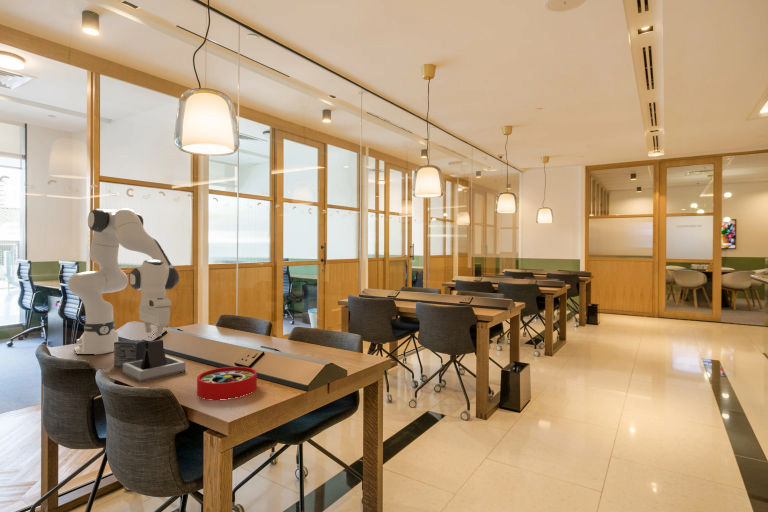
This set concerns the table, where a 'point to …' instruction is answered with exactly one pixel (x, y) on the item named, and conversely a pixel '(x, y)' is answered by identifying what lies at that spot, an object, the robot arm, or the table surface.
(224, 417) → the table surface
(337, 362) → the table surface
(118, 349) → the small box
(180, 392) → the table surface
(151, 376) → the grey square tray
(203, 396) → the toy clock
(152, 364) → the door stopper
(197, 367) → the table surface
